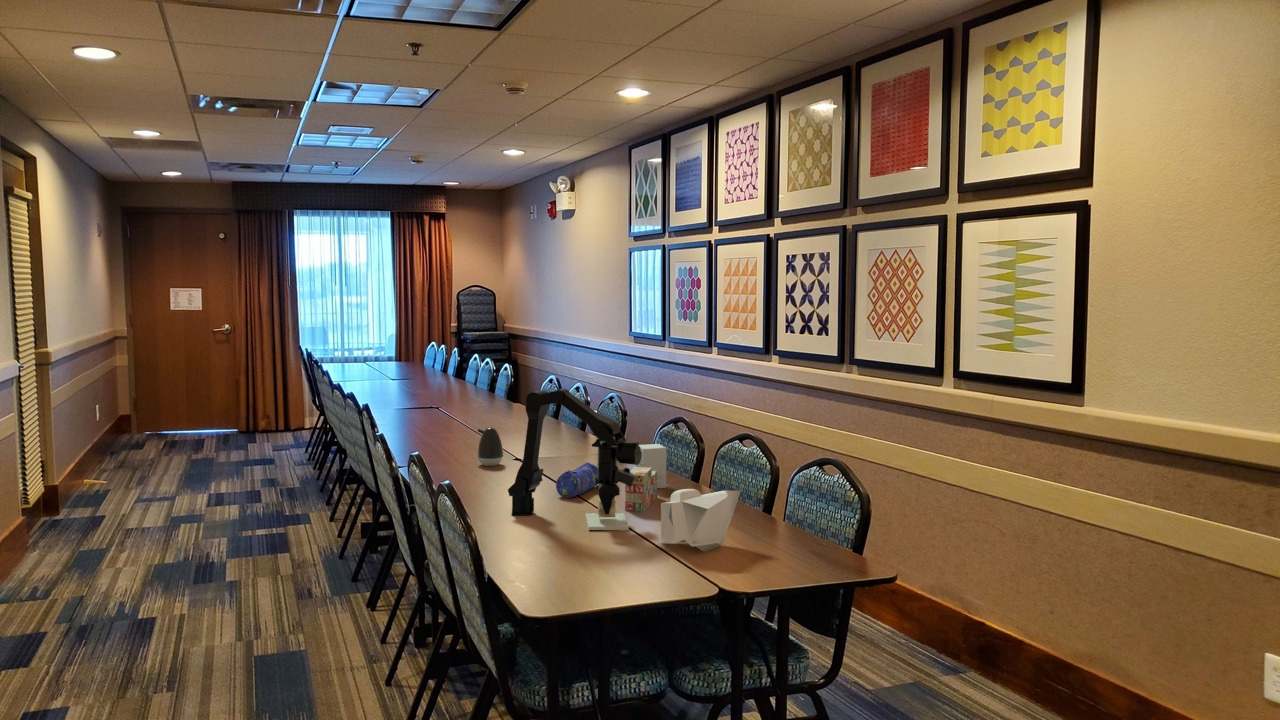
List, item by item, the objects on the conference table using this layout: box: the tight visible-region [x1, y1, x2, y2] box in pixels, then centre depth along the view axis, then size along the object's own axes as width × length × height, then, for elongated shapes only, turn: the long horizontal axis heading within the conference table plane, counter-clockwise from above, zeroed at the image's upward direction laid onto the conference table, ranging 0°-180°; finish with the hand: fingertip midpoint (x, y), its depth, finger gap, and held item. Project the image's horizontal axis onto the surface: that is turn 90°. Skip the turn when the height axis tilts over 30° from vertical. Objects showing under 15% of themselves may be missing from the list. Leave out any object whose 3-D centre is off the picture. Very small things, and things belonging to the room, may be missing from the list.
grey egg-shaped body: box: [477, 427, 504, 467], centre depth 369 cm, size 10×10×15 cm
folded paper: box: [660, 488, 742, 553], centre depth 260 cm, size 17×24×17 cm
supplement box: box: [635, 443, 667, 489], centre depth 335 cm, size 9×9×15 cm
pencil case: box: [555, 462, 599, 499], centre depth 324 cm, size 22×9×10 cm, turn 158°
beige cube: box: [597, 496, 616, 517], centre depth 283 cm, size 5×5×5 cm
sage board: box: [585, 512, 629, 531], centre depth 283 cm, size 12×16×1 cm
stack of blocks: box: [624, 466, 658, 513], centre depth 309 cm, size 21×6×12 cm, turn 167°
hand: (606, 511), depth 283 cm, fingers closed on beige cube, 5 cm apart
